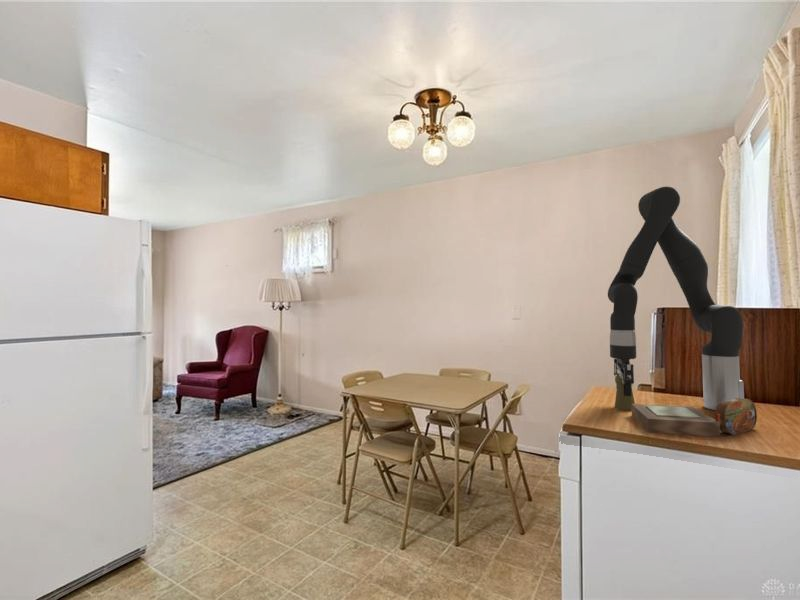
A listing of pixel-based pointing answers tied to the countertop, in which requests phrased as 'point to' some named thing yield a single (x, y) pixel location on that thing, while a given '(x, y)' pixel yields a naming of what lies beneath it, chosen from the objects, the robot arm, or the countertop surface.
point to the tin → (736, 416)
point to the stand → (675, 420)
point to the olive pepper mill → (623, 397)
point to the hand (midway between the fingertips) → (623, 392)
